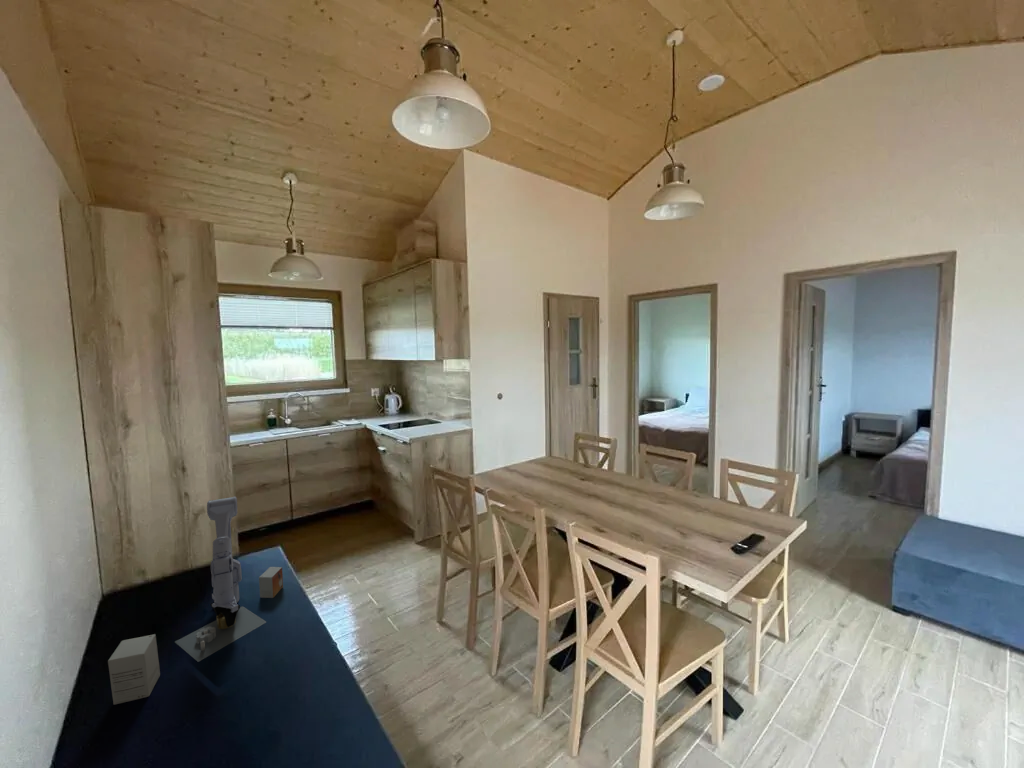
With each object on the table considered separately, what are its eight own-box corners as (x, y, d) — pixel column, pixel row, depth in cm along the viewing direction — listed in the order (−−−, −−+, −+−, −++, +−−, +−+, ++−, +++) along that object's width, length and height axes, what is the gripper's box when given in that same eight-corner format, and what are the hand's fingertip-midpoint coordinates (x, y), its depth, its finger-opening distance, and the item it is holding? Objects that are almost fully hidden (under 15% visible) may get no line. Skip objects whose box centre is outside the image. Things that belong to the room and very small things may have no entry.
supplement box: (126, 682, 137) (121, 639, 134) (161, 674, 140) (156, 632, 138) (111, 705, 128) (106, 660, 126) (149, 697, 131) (144, 653, 129)
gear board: (174, 645, 152) (173, 634, 151) (242, 609, 172) (242, 599, 171) (198, 666, 144) (197, 653, 143) (267, 625, 163) (266, 614, 162)
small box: (273, 601, 177) (271, 577, 176) (259, 600, 177) (258, 577, 176) (283, 589, 185) (282, 566, 184) (271, 589, 185) (269, 566, 184)
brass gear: (214, 625, 159) (213, 615, 158) (231, 617, 163) (230, 607, 163) (222, 631, 156) (221, 621, 155) (238, 622, 160) (237, 612, 160)
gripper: (201, 587, 158) (204, 621, 160) (222, 601, 150) (224, 636, 152) (222, 577, 164) (225, 610, 166) (243, 590, 156) (245, 624, 158)
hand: (226, 622), depth 159 cm, fingers closed on brass gear, 6 cm apart
